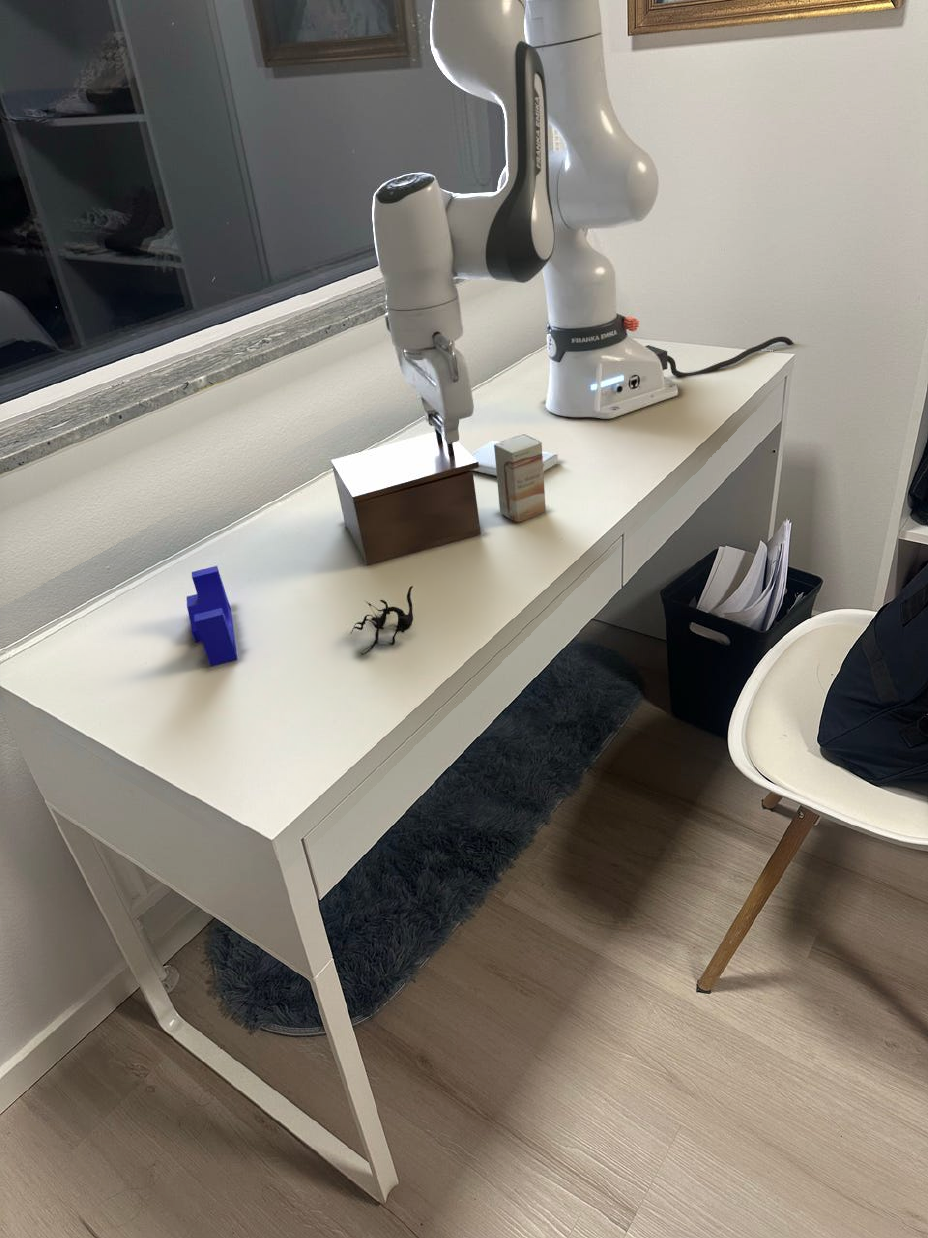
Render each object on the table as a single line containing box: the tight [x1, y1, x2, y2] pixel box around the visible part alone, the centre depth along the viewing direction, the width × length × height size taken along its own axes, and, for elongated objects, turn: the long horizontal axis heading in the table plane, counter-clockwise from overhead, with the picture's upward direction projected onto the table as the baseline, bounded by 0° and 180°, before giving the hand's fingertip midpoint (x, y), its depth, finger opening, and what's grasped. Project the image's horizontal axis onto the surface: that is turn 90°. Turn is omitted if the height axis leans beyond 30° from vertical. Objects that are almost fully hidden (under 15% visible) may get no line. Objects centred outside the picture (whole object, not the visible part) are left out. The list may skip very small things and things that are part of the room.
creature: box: [349, 585, 414, 655], centre depth 98 cm, size 8×5×8 cm
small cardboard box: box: [494, 433, 547, 523], centre depth 118 cm, size 5×4×10 cm
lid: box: [330, 413, 479, 503], centre depth 115 cm, size 16×14×5 cm
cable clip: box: [186, 565, 238, 667], centre depth 102 cm, size 12×4×6 cm, turn 16°
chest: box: [332, 467, 482, 566], centre depth 118 cm, size 16×14×9 cm
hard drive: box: [470, 440, 559, 477], centre depth 134 cm, size 2×8×12 cm
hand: (442, 432), depth 115 cm, fingers closed on lid, 6 cm apart
